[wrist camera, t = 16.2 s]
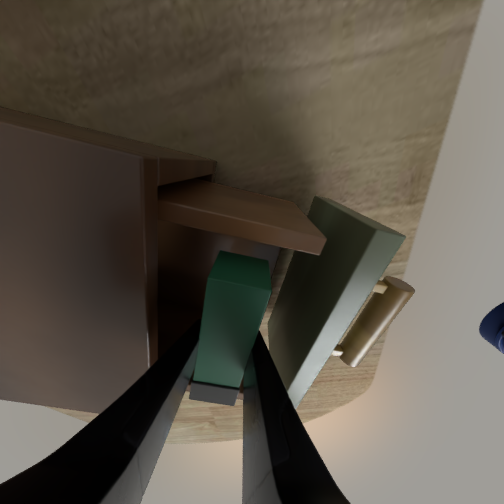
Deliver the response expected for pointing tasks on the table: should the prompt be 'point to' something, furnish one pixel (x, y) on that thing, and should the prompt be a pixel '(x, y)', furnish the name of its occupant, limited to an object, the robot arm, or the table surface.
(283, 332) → the drawer
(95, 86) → the table surface
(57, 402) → the cabinet
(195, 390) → the green marker
